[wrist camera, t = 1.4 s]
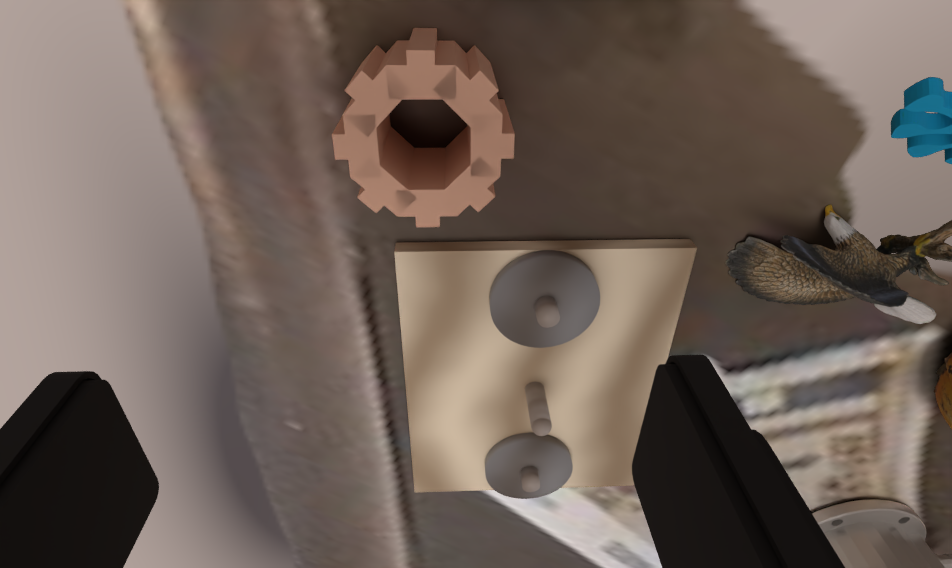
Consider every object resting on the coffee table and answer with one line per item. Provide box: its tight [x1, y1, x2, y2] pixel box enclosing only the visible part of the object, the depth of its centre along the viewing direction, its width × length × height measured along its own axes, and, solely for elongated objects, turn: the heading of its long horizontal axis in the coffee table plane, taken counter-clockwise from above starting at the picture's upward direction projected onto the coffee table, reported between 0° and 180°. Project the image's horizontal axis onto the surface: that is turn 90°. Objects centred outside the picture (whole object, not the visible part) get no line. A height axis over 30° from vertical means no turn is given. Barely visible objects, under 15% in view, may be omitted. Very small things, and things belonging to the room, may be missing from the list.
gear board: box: [394, 239, 697, 499], centre depth 33 cm, size 16×20×5 cm
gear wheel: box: [332, 28, 515, 227], centre depth 23 cm, size 7×7×5 cm
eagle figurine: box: [725, 205, 952, 324], centre depth 28 cm, size 8×7×9 cm
